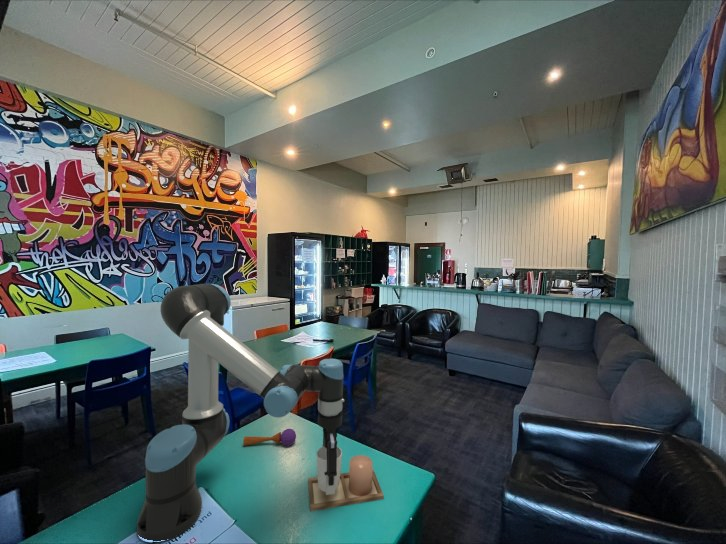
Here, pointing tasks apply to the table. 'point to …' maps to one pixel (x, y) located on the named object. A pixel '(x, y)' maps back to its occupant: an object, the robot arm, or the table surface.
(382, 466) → the table surface
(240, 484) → the table surface
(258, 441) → the kendama
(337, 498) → the wooden divided tray
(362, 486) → the pink round cylinder
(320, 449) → the white cup
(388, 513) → the table surface
